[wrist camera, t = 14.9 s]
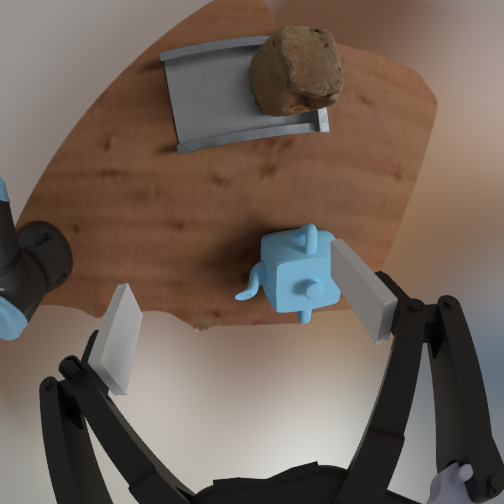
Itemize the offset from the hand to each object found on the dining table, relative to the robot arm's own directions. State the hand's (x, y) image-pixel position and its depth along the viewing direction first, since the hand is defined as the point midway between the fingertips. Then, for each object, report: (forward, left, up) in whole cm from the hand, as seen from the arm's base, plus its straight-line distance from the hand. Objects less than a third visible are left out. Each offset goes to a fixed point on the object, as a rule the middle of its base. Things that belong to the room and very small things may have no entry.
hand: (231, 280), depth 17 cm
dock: (+7, +14, -33) cm, 36 cm away
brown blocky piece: (+12, +14, -32) cm, 37 cm away
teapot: (+10, -18, -33) cm, 39 cm away
